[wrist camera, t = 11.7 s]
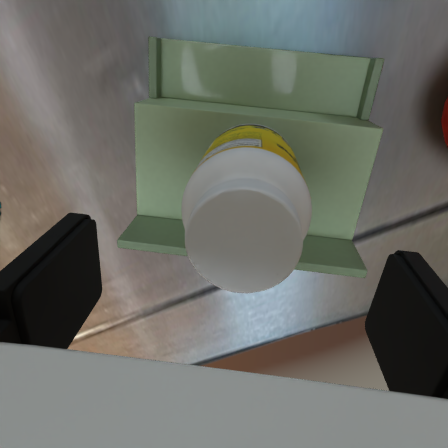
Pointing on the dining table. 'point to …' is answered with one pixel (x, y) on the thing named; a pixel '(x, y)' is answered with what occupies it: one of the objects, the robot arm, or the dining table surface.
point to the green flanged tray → (263, 115)
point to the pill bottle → (246, 210)
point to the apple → (445, 121)
